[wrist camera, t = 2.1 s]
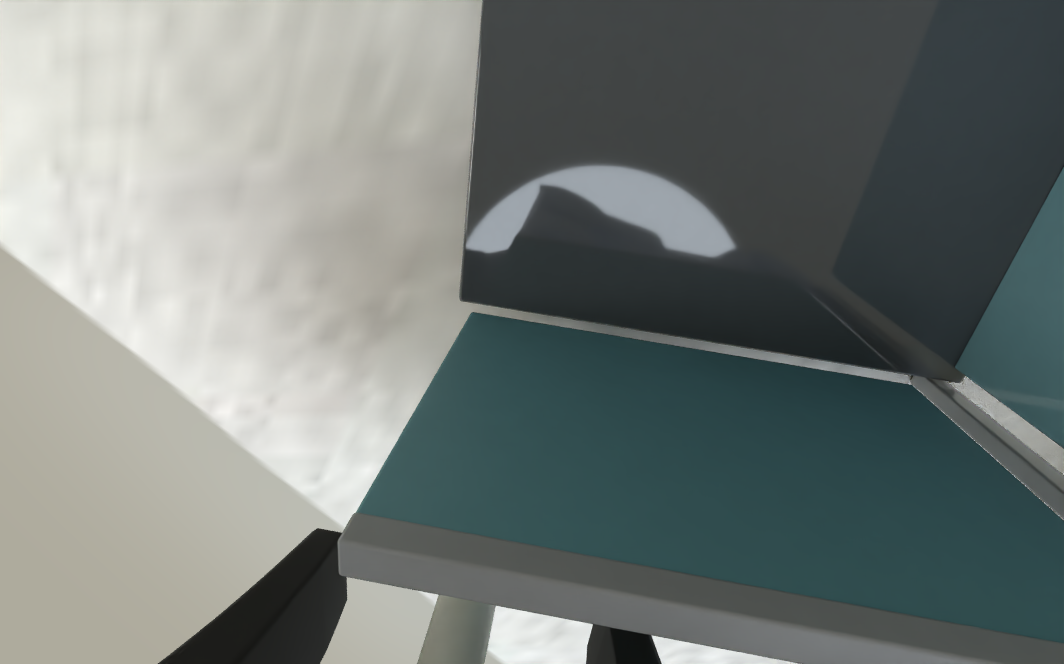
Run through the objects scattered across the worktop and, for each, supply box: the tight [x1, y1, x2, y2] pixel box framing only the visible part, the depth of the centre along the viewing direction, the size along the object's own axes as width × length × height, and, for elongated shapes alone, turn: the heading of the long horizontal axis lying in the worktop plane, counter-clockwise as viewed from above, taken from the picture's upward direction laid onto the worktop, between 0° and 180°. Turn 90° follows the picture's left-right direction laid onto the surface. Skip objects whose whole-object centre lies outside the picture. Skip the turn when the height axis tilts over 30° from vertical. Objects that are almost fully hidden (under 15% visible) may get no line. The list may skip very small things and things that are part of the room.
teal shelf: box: [338, 312, 1064, 664], centre depth 10 cm, size 5×10×7 cm, turn 82°
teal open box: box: [459, 0, 1064, 519], centre depth 7 cm, size 12×12×8 cm
